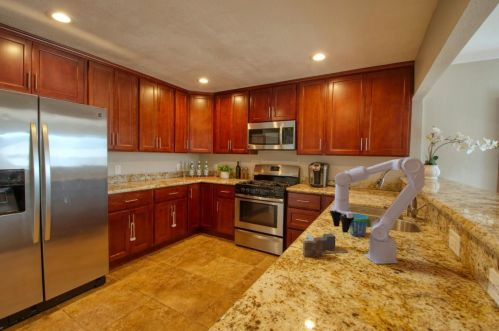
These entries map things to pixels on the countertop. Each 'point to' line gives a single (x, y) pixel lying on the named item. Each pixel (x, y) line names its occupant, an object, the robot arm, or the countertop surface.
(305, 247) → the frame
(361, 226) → the snack cup
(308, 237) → the pale grey bar
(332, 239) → the stepped block
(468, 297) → the countertop surface
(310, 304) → the countertop surface
